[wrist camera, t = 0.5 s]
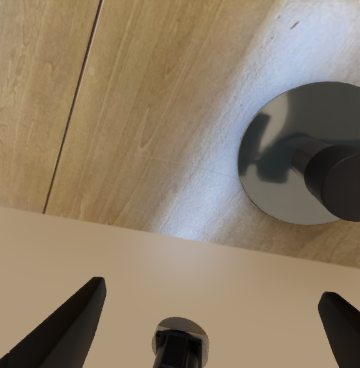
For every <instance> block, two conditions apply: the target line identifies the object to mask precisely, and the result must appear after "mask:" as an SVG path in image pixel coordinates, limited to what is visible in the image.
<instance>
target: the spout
mask: <svg viewBox="0 0 360 368" xmlns="http://www.w3.org/2000/svg"><path fill="white" fill-rule="evenodd" d="M304 182H305V185H306V187H307V189H308V191H309V192H310V193H311V194H312V195H313V196H314V197H315V198H316V199H317V200H318V201H319V202H320V203H321V204H322V205H323V206H324V207H325V208H326V209H327V210H328V211H329V212H330V213H331V214H333V215H334V216H336V217H338V218H340V219H343V220H347V221H353V222H360V147H356V146H352V145H345V144H340V145H333V146H330V147H327V148H325V149H323V150H321V151H319V152H318V153H317V154H315V155H314V156H313V157H312V158H311V160H310V161H309V162H308V164H307V166H306V169H305V172H304Z"/></svg>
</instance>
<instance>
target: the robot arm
mask: <svg viewBox="0 0 360 368" xmlns="http://www.w3.org/2000/svg"><path fill="white" fill-rule="evenodd" d="M105 297H106V285H105V280H104V278H103V277H93V278H92V279H91V280H89V281H88V282H87V283H86V284H85V285H84V286H83V287H82V288H80V289H79V290H78V291H77V292H76V293H75V294H74V295H73V296H71V297H70V298H69V299H68V300H67V301H66V302H65V303H64V304H62V305H61V306H60V307H59V308H58V309H57V310H56V311H54V313H52V314H51V315H50V316H49V317H48V318H47V319H45V320H44V321H43V322H42V323H41V324H40V325H39V326H37V327H36V328H35V329H34V330H33V331H32V332H31V333H30V334H29V335H27V336H26V337H25V338H24V339H23V340H22V341H20V342H19V343H18V344H17V345H16V346H15V347H14V348H13V349H11V350H10V352H9V353H7V354H6V355H4V356H3V357H2V358H1V359H0V368H82V367H83V364H84V361H85V359H86V356H87V354H88V351H89V349H90V346H91V343H92V341H93V338H94V336H95V332H96V329H97V325H98V322H99V319H100V315H101V311H102V308H103V305H104V301H105ZM318 311H319V314H320V317H321V320H322V323H323V326H324V329H325V332H326V335H327V338H328V340H329V343H330V346H331V349H332V352H333V354H334V357H335V359H336V361H337V364H338V366H339V368H360V311H359V310H357V309H356V308H355V307H354V306H352V305H351V304H350V303H348V302H347V301H346V300H345V299H343V298H342V297H341V296H340V295H338V294H337V293H335V292H324V293H323V295H322V297H321V299H320V301H319V304H318ZM155 341H156V359H155V362H154V365H153V368H202V344H203V342H202V340H201V339H199V338H195V337H190V336H185V335H180V334H175V333H170V332H165V331H160V330H157V331H156V334H155Z"/></svg>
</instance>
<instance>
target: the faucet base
mask: <svg viewBox="0 0 360 368" xmlns="http://www.w3.org/2000/svg"><path fill="white" fill-rule="evenodd" d="M340 144H345V145H352V146H356V147H360V87H358V86H354V85H351V84H348V83H341V82H327V81H326V82H315V83H310V84H306V85H302V86H299V87H296V88H293V89H291V90H288V91H286V92H284V93H282V94H280V95H278V96H276V97H275V98H273V99H272V100H270V101H269V102H268V103H266V104H265V105H264V106H263V107H262V108H261V109H260V110H259V111H258V112H257V113H256V114H255V115H254V116H253V118H252V119H251V120H250V121H249V123H248V125H247V126H246V128H245V130H244V132H243V134H242V137H241V140H240V143H239V147H238V154H237V165H238V172H239V177H240V181H241V184H242V186H243V188H244V190H245V192H246V194H247V195H248V197H249V198H250V199H251V201H252V202H253V203H254V204H255V205H256V206H257V207H258V208H259V209H261V210H262V211H263V212H265V213H266V214H268V215H270V216H272V217H274V218H276V219H278V220H281V221H284V222H288V223H292V224H299V225H319V224H325V223H330V222H334V221H337V220H340V218H338V217H336V216H334V215H333V214H331V213H330V212H329V211H328V210H327V209H326V208H325V207H324V206H323V205H322V204H321V203H320V202H319V201H318V200H317V199H316V198H315V197H314V196H313V195H312V194H311V193H310V192H309V191H308V189H307V187H306V185H305V182H304V172H305V169H306V166H307V164H308V162H309V161H310V160H311V158H312V157H313V156H314V155H315V154H317V153H318V152H319V151H321V150H323V149H325V148H327V147H330V146H333V145H340Z"/></svg>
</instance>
